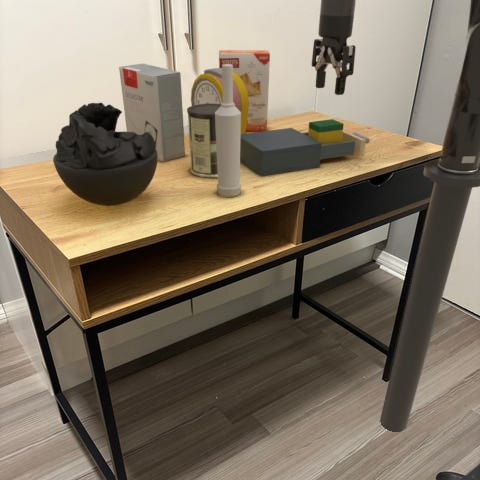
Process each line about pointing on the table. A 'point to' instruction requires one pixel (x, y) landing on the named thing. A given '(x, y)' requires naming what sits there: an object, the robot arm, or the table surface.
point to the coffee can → (203, 139)
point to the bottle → (228, 139)
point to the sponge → (326, 131)
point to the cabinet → (279, 151)
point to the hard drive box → (154, 107)
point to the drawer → (345, 146)
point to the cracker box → (251, 82)
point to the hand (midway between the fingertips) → (329, 91)
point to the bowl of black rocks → (104, 157)
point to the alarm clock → (220, 92)
